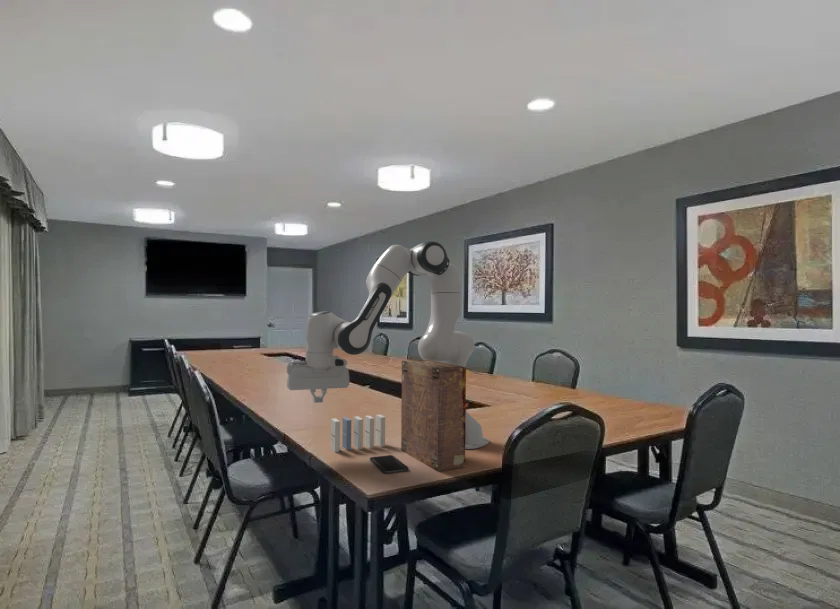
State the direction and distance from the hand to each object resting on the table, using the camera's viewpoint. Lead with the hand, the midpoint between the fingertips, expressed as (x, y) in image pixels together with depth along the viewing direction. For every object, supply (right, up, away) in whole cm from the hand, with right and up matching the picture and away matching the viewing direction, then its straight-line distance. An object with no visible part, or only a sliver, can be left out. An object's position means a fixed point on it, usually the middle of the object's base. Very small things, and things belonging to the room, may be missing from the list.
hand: (318, 402), depth 167 cm
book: (+37, -17, -7) cm, 41 cm away
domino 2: (+9, -16, +4) cm, 19 cm away
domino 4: (+16, -16, +7) cm, 24 cm away
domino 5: (+20, -16, +9) cm, 27 cm away
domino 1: (+5, -16, +2) cm, 17 cm away
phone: (+24, -17, -14) cm, 33 cm away
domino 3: (+13, -16, +5) cm, 21 cm away
